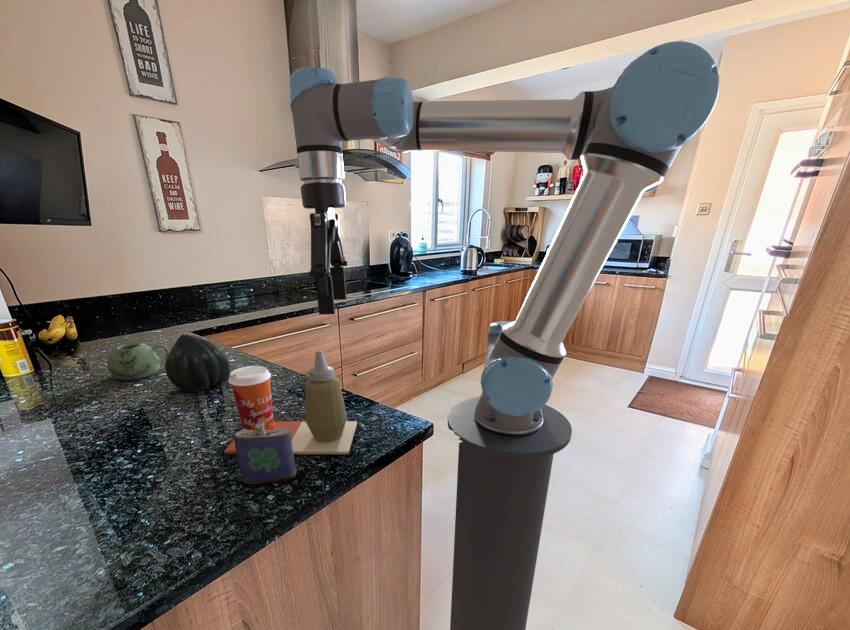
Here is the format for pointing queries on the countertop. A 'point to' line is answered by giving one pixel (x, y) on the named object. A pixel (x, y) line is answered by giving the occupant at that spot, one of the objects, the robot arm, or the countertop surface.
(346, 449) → the board
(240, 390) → the paper cup
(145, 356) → the mug
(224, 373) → the squash
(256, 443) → the flask
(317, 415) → the squeeze bottle
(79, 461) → the countertop surface
